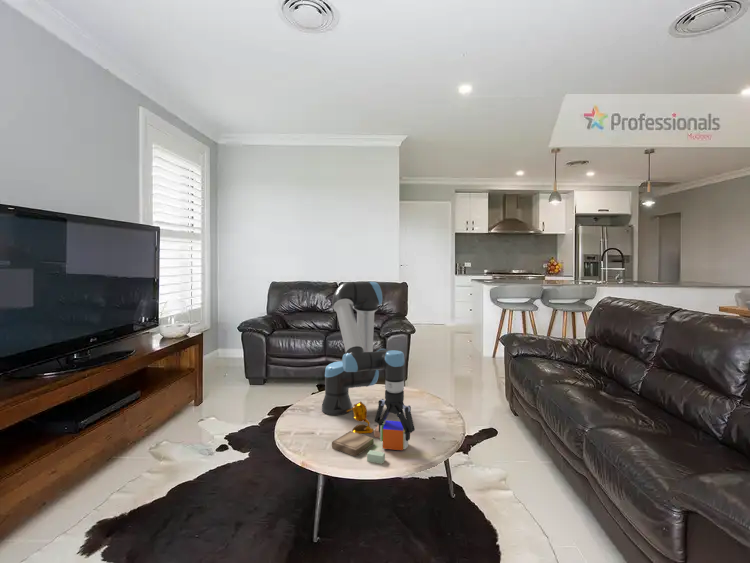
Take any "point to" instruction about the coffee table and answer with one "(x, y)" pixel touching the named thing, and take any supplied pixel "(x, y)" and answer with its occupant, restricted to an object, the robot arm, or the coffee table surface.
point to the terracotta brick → (377, 432)
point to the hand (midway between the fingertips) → (393, 443)
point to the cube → (393, 435)
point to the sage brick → (375, 456)
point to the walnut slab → (352, 443)
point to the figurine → (361, 419)
